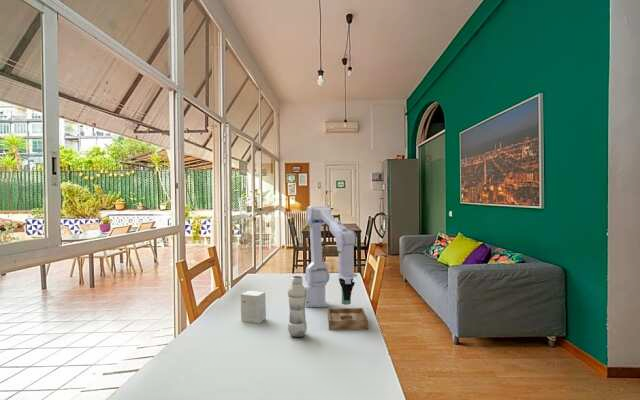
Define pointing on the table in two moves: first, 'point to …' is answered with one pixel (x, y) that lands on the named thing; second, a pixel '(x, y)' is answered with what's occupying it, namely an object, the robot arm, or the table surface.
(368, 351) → the table surface
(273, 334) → the table surface
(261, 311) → the small box
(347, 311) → the crate
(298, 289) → the plastic bottle
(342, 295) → the peg
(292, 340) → the table surface
